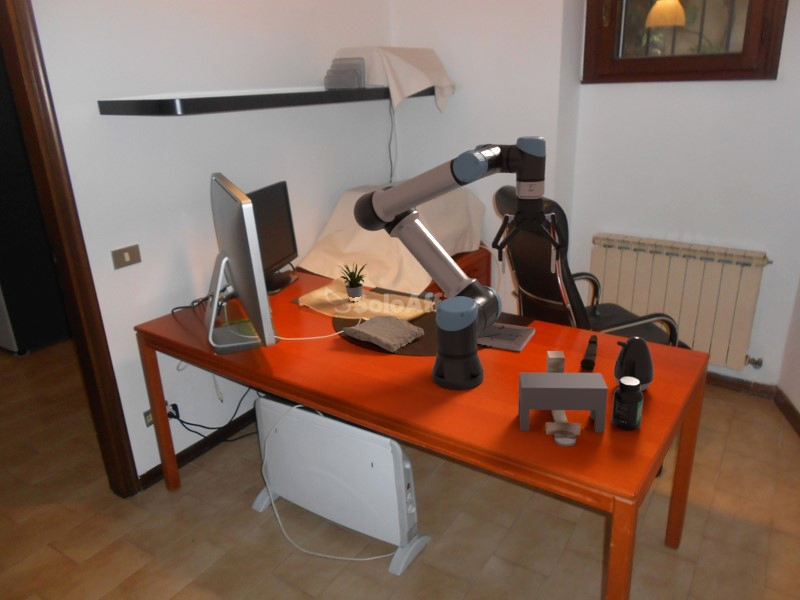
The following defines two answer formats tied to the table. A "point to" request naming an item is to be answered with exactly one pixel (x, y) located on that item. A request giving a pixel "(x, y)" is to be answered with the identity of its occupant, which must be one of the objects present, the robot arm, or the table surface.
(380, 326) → the flat stone slab
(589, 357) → the hand tool
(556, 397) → the grey step stool
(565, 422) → the ash-wood pusher
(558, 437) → the steel token
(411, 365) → the table surface
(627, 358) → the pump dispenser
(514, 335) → the picture frame
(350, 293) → the house plant
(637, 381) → the supplement bottle
